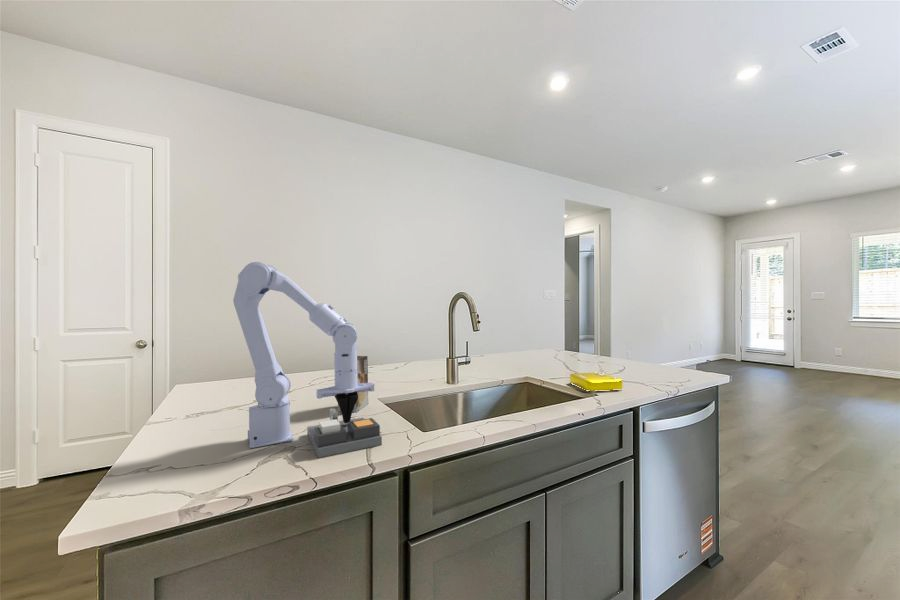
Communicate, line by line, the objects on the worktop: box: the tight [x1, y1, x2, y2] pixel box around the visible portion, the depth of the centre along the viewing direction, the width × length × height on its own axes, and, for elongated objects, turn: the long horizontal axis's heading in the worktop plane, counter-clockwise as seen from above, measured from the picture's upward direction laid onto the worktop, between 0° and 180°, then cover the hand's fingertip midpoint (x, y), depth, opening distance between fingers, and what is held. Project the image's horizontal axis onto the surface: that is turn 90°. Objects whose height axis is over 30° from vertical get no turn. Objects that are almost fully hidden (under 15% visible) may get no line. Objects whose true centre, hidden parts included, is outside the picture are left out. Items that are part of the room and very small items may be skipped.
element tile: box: [569, 371, 624, 391], centre depth 145 cm, size 15×15×5 cm
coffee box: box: [337, 355, 369, 413], centre depth 119 cm, size 9×6×16 cm
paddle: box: [329, 407, 339, 422], centre depth 95 cm, size 1×4×4 cm, turn 29°
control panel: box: [306, 417, 383, 459], centre depth 93 cm, size 15×16×4 cm
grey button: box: [318, 419, 340, 434], centre depth 87 cm, size 4×4×2 cm
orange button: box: [353, 418, 374, 428], centre depth 91 cm, size 4×4×2 cm
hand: (346, 421), depth 97 cm, fingers closed
